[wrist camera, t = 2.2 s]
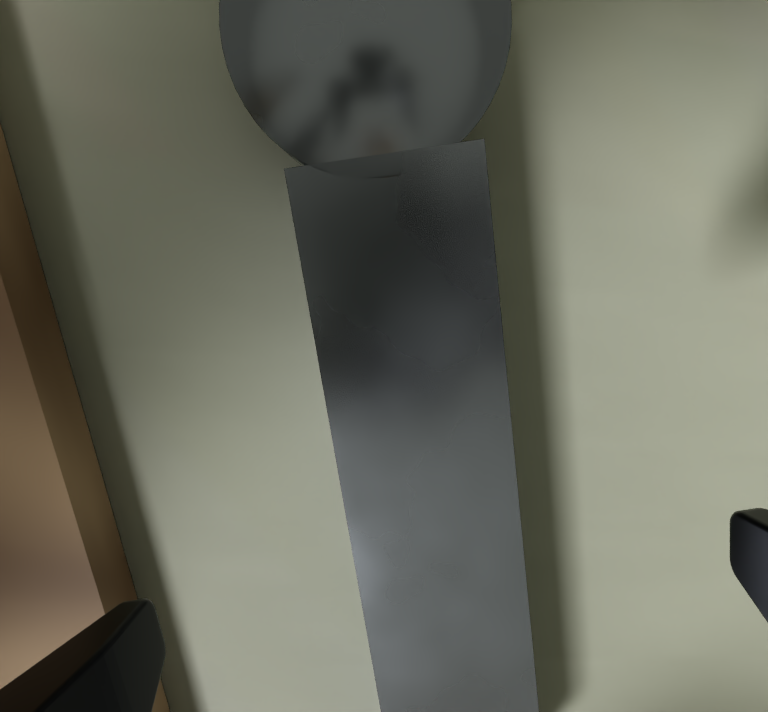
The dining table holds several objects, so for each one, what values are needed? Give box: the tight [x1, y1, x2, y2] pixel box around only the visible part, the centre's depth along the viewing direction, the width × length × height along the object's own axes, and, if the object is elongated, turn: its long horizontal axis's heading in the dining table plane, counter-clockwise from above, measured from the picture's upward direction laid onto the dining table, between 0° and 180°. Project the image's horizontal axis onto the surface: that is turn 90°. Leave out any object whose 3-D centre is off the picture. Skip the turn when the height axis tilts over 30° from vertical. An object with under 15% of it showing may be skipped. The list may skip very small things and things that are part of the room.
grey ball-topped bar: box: [219, 0, 539, 712], centre depth 13 cm, size 21×5×3 cm, turn 8°
